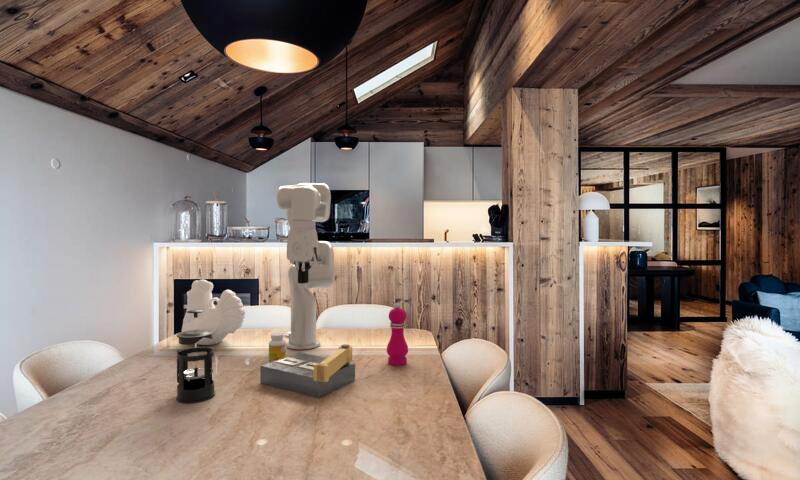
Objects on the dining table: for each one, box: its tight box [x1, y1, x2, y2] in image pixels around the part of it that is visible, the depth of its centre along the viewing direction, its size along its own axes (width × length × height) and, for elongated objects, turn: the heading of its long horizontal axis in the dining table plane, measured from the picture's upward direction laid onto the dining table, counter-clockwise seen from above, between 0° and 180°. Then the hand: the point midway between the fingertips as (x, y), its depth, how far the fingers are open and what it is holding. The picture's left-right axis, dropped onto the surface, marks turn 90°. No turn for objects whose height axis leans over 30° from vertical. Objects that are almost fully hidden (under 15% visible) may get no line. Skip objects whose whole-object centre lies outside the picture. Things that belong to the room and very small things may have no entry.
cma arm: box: [314, 343, 353, 382], centre depth 119 cm, size 20×4×5 cm, turn 167°
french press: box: [175, 309, 216, 404], centre depth 115 cm, size 12×9×23 cm
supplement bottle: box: [268, 332, 287, 363], centre depth 144 cm, size 5×5×10 cm
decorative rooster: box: [181, 278, 246, 346], centre depth 167 cm, size 25×16×25 cm, turn 65°
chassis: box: [259, 352, 356, 399], centre depth 127 cm, size 22×16×5 cm
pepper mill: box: [386, 302, 409, 367], centre depth 145 cm, size 7×7×20 cm
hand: (303, 282), depth 139 cm, fingers closed
